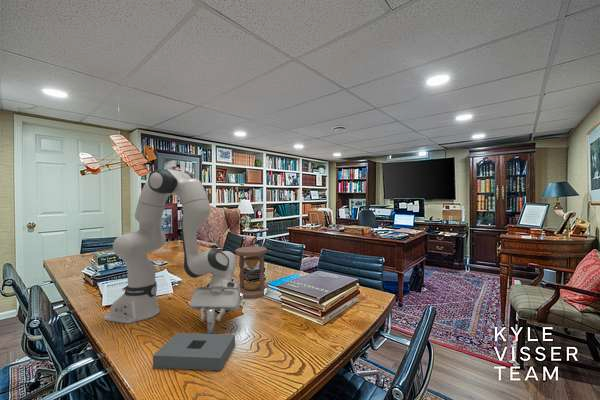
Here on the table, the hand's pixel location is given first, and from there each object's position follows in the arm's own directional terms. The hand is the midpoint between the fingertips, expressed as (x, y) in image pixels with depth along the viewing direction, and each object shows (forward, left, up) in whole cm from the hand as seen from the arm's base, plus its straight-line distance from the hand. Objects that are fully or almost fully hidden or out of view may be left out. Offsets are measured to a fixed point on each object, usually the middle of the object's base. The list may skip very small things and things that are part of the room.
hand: (210, 320), depth 103 cm
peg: (0, +1, -6) cm, 6 cm away
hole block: (+1, -13, -6) cm, 15 cm away
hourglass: (+4, +47, -6) cm, 47 cm away
